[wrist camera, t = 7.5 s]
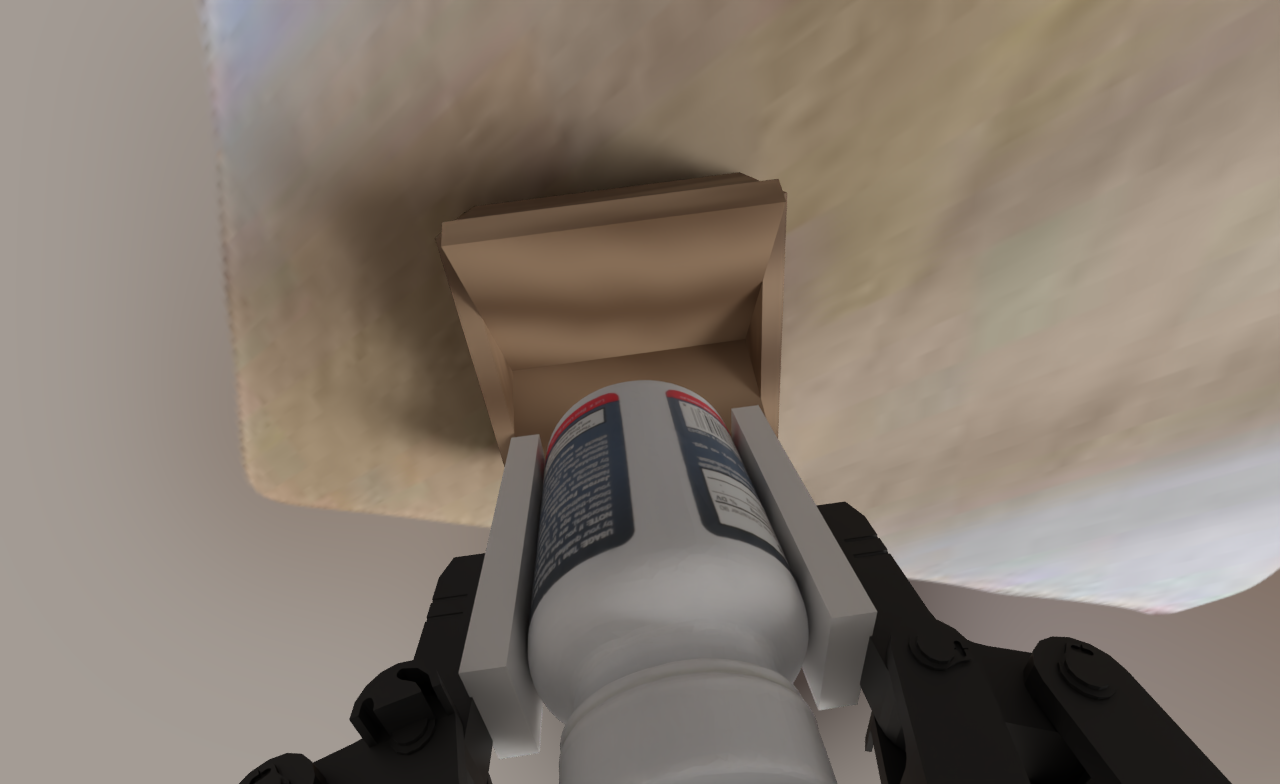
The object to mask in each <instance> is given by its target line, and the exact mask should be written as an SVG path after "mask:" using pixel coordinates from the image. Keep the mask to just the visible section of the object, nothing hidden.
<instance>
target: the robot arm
mask: <svg viewBox="0 0 1280 784" xmlns="http://www.w3.org/2000/svg"><path fill="white" fill-rule="evenodd" d="M731 432H732V440H733V442H734V444H735V446H736V448H737V450H738V453H739V455H740V457H741V459H742V461H743V464H744V466H745V468H746V470H747V473H748V475H749V477H750V479H751V481H752V484H753V486H754V488H755V490H756V493H757V495H758V497H759V499H760V501H761V504H762V506H763V508H764V510H765V512H766V515H767V517H768V519H769V522H770V524H771V526H772V528H773V530H774V533H775V535H776V537H777V539H778V542H779V544H780V546H781V548H782V551H783V553H784V555H785V557H786V559H787V562H788V564H789V566H790V568H791V570H792V573H793V575H794V577H795V580H796V582H797V585H798V588H799V590H800V593H801V596H802V599H803V601H804V604H805V608H806V612H807V617H808V628H809V640H808V647H807V651H806V655H805V658H804V662H803V664H802V668H803V672H804V674H805V677H806V679H807V682H808V685H809V687H810V690H811V692H812V695H813V698H814V700H815V703H816V705H817V708H818V710H824V709H831V708H837V707H844V706H850V705H857V704H858V700H859V695H860V690H861V688H862V690H863V693H864V694H865V697H866V699H867V701H868V703H869V705H870V707H871V710H872V712H871V717H870V721H869V725H868V729H867V734H866V737H865V751H869V752H871V751H872V748H873V745H874V749H875V754H876V759H877V765H878V769H879V775H880V780H881V784H1232V783H1231V782H1230V781H1229V780H1228V779H1227V778H1226V777H1225V776H1224V775H1223V774H1222V773H1221V772H1220V770H1219V769H1218V768H1217V767H1216V766H1215V765H1214V764H1213V763H1212V762H1211V761H1210V760H1209V759H1208V757H1207V756H1205V754H1204V753H1203V752H1202V751H1201V750H1200V749H1199V748H1198V747H1197V746H1196V745H1195V743H1194V742H1193V741H1192V740H1191V739H1190V738H1189V737H1188V736H1187V735H1186V734H1185V733H1184V732H1183V731H1182V729H1181V728H1180V727H1179V726H1178V725H1177V724H1176V723H1175V722H1174V721H1173V720H1172V719H1171V717H1170V716H1169V715H1168V714H1167V713H1166V712H1165V711H1164V710H1163V709H1162V708H1161V707H1160V706H1159V704H1157V702H1156V701H1155V700H1154V699H1153V698H1152V697H1151V696H1150V695H1149V694H1148V693H1147V692H1146V691H1145V689H1144V688H1143V687H1142V686H1141V685H1140V684H1139V683H1138V682H1137V681H1136V680H1135V679H1134V677H1132V675H1131V674H1130V673H1129V672H1128V671H1127V670H1126V669H1125V668H1124V667H1122V666H1121V665H1120V664H1119V663H1118V662H1117V661H1116V660H1114V659H1113V658H1112V657H1111V656H1110V655H1108V654H1106V653H1105V652H1103V651H1101V650H1099V649H1098V648H1096V647H1094V646H1092V645H1090V644H1088V643H1085V642H1082V641H1079V640H1076V639H1073V638H1070V637H1049V638H1047V639H1044V640H1041V641H1039V643H1038V644H1037V646H1036V647H1035V649H1034V650H1033V652H1032V653H1029V652H1022V651H1016V650H1010V649H1003V648H997V647H991V646H985V645H982V644H977V643H974V642H971V641H969V640H967V639H966V638H965V637H963V636H962V635H961V634H960V633H959V632H958V631H957V630H956V629H954V628H952V627H950V626H949V625H947V624H945V623H943V622H941V621H939V620H936V619H935V617H934V616H933V615H932V614H931V613H930V611H929V610H928V609H927V607H926V606H925V604H924V603H923V601H922V600H921V598H920V597H919V596H918V594H917V593H916V591H915V590H914V588H913V587H912V585H911V584H910V582H909V581H908V579H907V578H906V576H905V575H904V573H903V572H902V570H901V569H900V567H899V566H898V565H897V563H896V562H895V560H894V559H893V557H892V556H891V554H888V551H887V548H886V547H885V545H884V544H883V542H882V541H881V540H880V538H878V537H877V534H876V532H875V531H874V529H873V528H872V526H871V525H870V523H869V522H868V520H867V519H866V517H865V516H864V515H862V514H861V513H860V512H858V511H857V510H856V509H854V508H853V507H852V506H850V505H849V504H848V503H846V502H839V503H832V504H825V505H817V506H816V504H815V503H814V501H813V499H812V497H811V496H810V494H809V492H808V490H807V489H806V487H805V485H804V483H803V482H802V480H801V478H800V477H799V475H798V473H797V471H796V470H795V468H794V466H793V464H792V463H791V461H790V459H789V457H788V456H787V454H786V452H785V450H784V449H783V447H782V445H781V443H780V442H779V440H778V438H777V437H776V435H775V433H774V431H773V430H772V428H771V426H770V424H769V423H768V421H767V419H766V417H765V416H764V414H763V412H762V410H761V409H760V407H759V405H756V406H748V407H740V408H733V409H731ZM544 468H545V456H544V452H543V448H542V444H541V440H540V435H539V434H536V435H529V436H521V437H514V438H511V441H510V446H509V450H508V455H507V459H506V464H505V468H504V473H503V477H502V482H501V486H500V490H499V495H498V499H497V504H496V508H495V513H494V517H493V522H492V526H491V531H490V535H489V539H488V544H487V548H486V553H483V554H476V555H469V556H462V557H455V558H453V560H452V561H451V562H450V564H449V565H448V566H447V568H446V569H445V570H444V572H443V573H442V575H441V576H440V577H439V579H438V583H437V586H436V589H435V592H434V595H433V599H432V600H433V603H431V605H430V608H429V612H428V615H427V622H425V624H424V628H423V631H422V634H421V637H420V640H419V644H418V647H417V650H416V654H415V656H414V660H412V661H407V662H403V663H398V664H396V665H394V666H392V667H390V668H388V669H386V670H385V671H383V672H381V673H380V674H379V675H378V676H377V677H375V678H374V679H373V680H372V681H371V682H370V683H369V684H368V685H367V686H366V687H365V688H364V690H363V691H362V693H361V694H360V696H359V697H358V699H357V700H356V702H355V704H354V707H353V710H352V713H351V716H350V721H351V723H352V724H353V726H354V727H355V728H356V730H357V731H358V733H359V734H360V735H361V737H362V739H360V740H359V741H357V742H355V743H353V744H351V745H349V746H347V747H345V748H343V749H341V750H339V751H337V752H334V753H332V754H330V755H328V756H326V757H324V758H322V759H320V760H318V761H316V762H314V763H312V762H311V761H310V760H309V759H308V758H307V757H305V756H304V755H303V754H295V753H294V754H293V753H286V754H283V755H280V756H278V757H275V758H272V759H270V760H268V761H266V762H265V763H263V764H262V765H260V766H259V767H257V768H256V769H254V770H253V771H251V772H250V773H249V774H248V775H247V776H246V777H245V778H244V779H243V780H242V781H241V782H240V783H239V784H492V781H491V778H490V775H489V773H488V771H489V765H490V758H491V751H492V746H493V748H494V750H495V752H496V754H497V756H498V758H499V759H504V758H510V757H517V756H523V755H530V754H536V753H539V752H540V741H541V727H542V712H543V701H542V700H541V698H540V697H539V695H538V693H537V691H536V689H535V687H534V684H533V681H532V677H531V674H530V669H529V664H528V628H529V616H530V607H531V598H532V589H533V579H534V570H535V561H536V551H537V541H538V530H539V520H540V510H541V500H542V489H543V480H544Z"/></svg>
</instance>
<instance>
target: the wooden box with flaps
mask: <svg viewBox="0 0 1280 784" xmlns="http://www.w3.org/2000/svg"><path fill="white" fill-rule="evenodd" d="M786 211H787V193H786V192H784V191H782V188H781V185H780V182H779V179H774V180H766V181H759V180H756V179H754V178H752V177H749V176H746V175H744V174H742V173H740V172H739V173H731V174H723V175H715V176H708V177H700V178H692V179H684V180H676V181H668V182H660V183H653V184H645V185H637V186H629V187H621V188H613V189H606V190H598V191H590V192H582V193H574V194H566V195H559V196H551V197H543V198H535V199H527V200H519V201H512V202H504V203H496V204H488V205H480V206H474V207H473V208H472V209H470V210H469V211H468V212H464V213H463V214H462V215H461V216H460V217H459V218H458V219H456V220H454V221H446V222H442V233H440V234H439V235H438V236H437V237H436V238H435V240H436V243H437V247H438V250H439V253H440V256H441V260H442V263H443V266H444V270H445V273H446V276H447V279H448V283H449V286H450V289H451V293H452V296H453V299H454V302H455V306H456V309H457V312H458V316H459V319H460V322H461V325H462V329H463V332H464V335H465V339H466V342H467V345H468V348H469V352H470V355H471V358H472V362H473V365H474V368H475V371H476V375H477V378H478V381H479V384H480V388H481V391H482V394H483V398H484V401H485V404H486V407H487V411H488V414H489V417H490V421H491V424H492V427H493V430H494V434H495V437H496V440H497V444H498V447H499V450H500V453H501V457H502V460H503V463H504V467H505V464H506V459H507V455H508V450H509V446H510V441H511V438H514V437H521V436H529V435H536V434H539V435H540V440H541V444H542V448H543V452H544V456H545V459H546V453H547V448H548V444H549V441H550V438H551V436H552V433H553V431H554V429H555V427H556V425H557V424H558V423H559V421H560V420H561V418H562V417H563V416H564V414H565V413H566V412H567V411H568V410H569V409H570V408H571V407H572V406H573V405H575V404H576V403H577V402H578V401H580V400H581V399H582V398H584V397H586V396H587V395H589V394H591V393H593V392H595V391H597V390H599V389H601V388H604V387H606V386H610V385H613V384H617V383H622V382H628V381H637V380H654V381H662V382H667V383H672V384H675V385H678V386H681V387H684V388H686V389H688V390H690V391H692V392H694V393H696V394H698V395H699V396H701V397H702V398H704V399H705V400H706V401H707V402H708V403H709V404H710V405H711V406H712V407H713V408H714V409H715V410H716V411H717V412H718V414H719V415H720V416H721V418H722V420H723V421H724V423H725V425H726V427H727V429H728V431H729V433H730V435H731V437H732V432H731V409H733V408H740V407H748V406H756V405H759V407H760V409H761V410H762V412H763V414H764V416H765V417H766V419H767V421H768V423H769V424H770V426H771V428H772V430H773V431H774V433H775V435H776V437H777V438H778V423H779V397H780V370H781V344H782V317H783V291H784V264H785V238H786Z"/></svg>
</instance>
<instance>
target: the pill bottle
mask: <svg viewBox="0 0 1280 784" xmlns="http://www.w3.org/2000/svg"><path fill="white" fill-rule="evenodd" d="M808 640H809V628H808V617H807V612H806V608H805V604H804V601H803V599H802V596H801V593H800V590H799V588H798V585H797V582H796V580H795V577H794V575H793V573H792V570H791V568H790V566H789V564H788V562H787V559H786V557H785V555H784V553H783V551H782V548H781V546H780V544H779V542H778V539H777V537H776V535H775V533H774V530H773V528H772V526H771V524H770V522H769V519H768V517H767V515H766V512H765V510H764V508H763V506H762V504H761V501H760V499H759V497H758V495H757V493H756V490H755V488H754V486H753V484H752V481H751V479H750V477H749V475H748V473H747V470H746V468H745V466H744V464H743V461H742V459H741V457H740V455H739V453H738V450H737V448H736V446H735V444H734V442H733V440H732V437H731V435H730V433H729V431H728V429H727V427H726V425H725V423H724V421H723V420H722V418H721V416H720V415H719V414H718V412H717V411H716V410H715V409H714V408H713V407H712V406H711V405H710V404H709V403H708V402H707V401H706V400H705V399H704V398H702V397H701V396H699V395H698V394H696V393H694V392H692V391H690V390H688V389H686V388H684V387H681V386H678V385H675V384H672V383H667V382H662V381H654V380H637V381H628V382H622V383H617V384H613V385H610V386H606V387H604V388H601V389H599V390H597V391H595V392H593V393H591V394H589V395H587V396H586V397H584V398H582V399H581V400H580V401H578V402H577V403H576V404H575V405H573V406H572V407H571V408H570V409H569V410H568V411H567V412H566V413H565V414H564V416H563V417H562V418H561V420H560V421H559V423H558V424H557V425H556V427H555V429H554V431H553V433H552V436H551V438H550V441H549V444H548V448H547V453H546V459H545V468H544V480H543V489H542V500H541V510H540V520H539V530H538V541H537V551H536V561H535V570H534V579H533V589H532V598H531V607H530V616H529V628H528V664H529V669H530V674H531V677H532V681H533V684H534V687H535V689H536V691H537V693H538V695H539V697H540V698H541V700H542V701H543V703H544V704H545V705H546V707H547V708H548V709H549V710H550V711H551V713H552V714H553V715H554V716H556V718H557V719H558V720H560V721H561V722H562V723H564V724H565V727H564V730H563V732H562V736H561V743H560V750H561V754H560V759H559V784H837V781H836V779H835V775H834V773H833V770H832V767H831V764H830V761H829V758H828V755H827V752H826V749H825V747H824V744H823V741H822V738H821V736H820V733H819V730H818V725H817V721H816V718H815V716H814V714H813V712H812V710H811V708H810V707H809V706H808V704H807V703H806V702H805V701H804V700H803V698H802V696H801V695H800V693H799V691H798V690H797V688H796V687H795V686H794V685H793V683H794V681H795V679H796V677H797V675H798V673H799V671H800V669H801V667H802V664H803V662H804V658H805V655H806V651H807V647H808Z"/></svg>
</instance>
